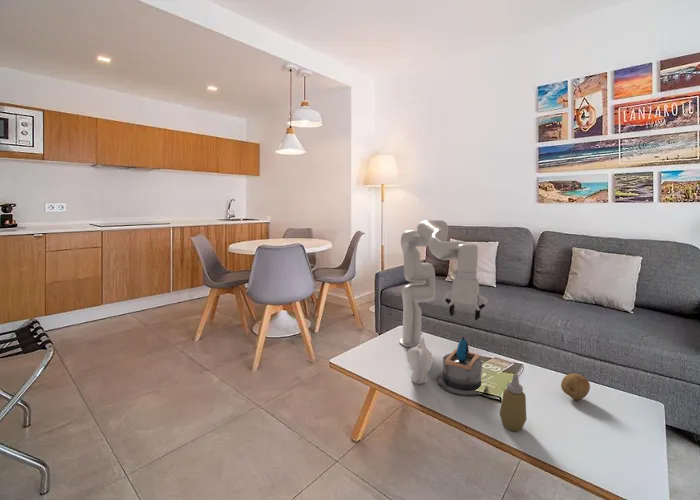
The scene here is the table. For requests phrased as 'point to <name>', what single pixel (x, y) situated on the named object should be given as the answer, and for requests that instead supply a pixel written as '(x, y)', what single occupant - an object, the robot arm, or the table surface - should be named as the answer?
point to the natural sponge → (575, 386)
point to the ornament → (462, 350)
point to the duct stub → (461, 374)
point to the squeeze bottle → (513, 406)
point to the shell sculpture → (419, 362)
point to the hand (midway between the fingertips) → (464, 317)
